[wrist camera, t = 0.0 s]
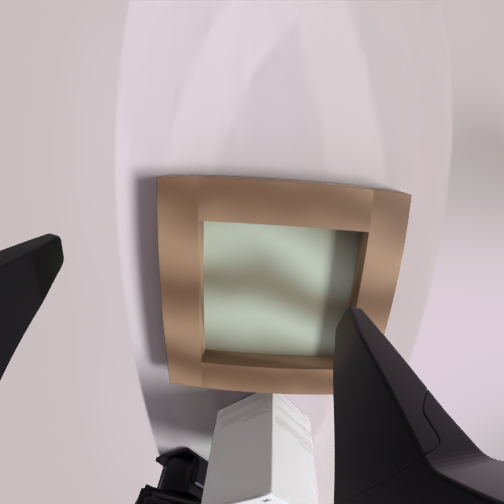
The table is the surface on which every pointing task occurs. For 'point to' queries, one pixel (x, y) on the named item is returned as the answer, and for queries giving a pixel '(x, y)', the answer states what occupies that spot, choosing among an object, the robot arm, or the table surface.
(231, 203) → the pocket board
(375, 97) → the table surface
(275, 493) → the supplement box
